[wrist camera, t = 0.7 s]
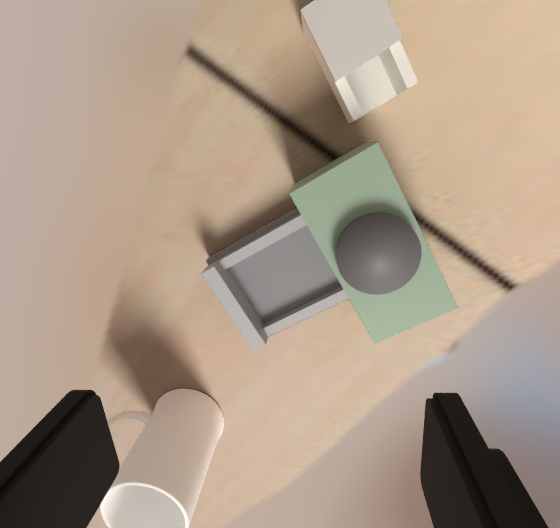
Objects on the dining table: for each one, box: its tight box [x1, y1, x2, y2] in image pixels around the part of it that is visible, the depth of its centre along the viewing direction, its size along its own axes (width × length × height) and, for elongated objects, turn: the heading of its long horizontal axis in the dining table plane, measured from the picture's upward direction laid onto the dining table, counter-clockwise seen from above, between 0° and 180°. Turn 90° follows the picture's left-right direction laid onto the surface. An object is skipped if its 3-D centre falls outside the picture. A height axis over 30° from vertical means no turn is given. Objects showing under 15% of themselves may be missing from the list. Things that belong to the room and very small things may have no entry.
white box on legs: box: [300, 0, 418, 124], centre depth 27 cm, size 8×5×5 cm, turn 30°
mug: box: [100, 389, 224, 528], centre depth 37 cm, size 12×8×12 cm
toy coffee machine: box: [201, 142, 458, 351], centre depth 31 cm, size 18×14×8 cm
